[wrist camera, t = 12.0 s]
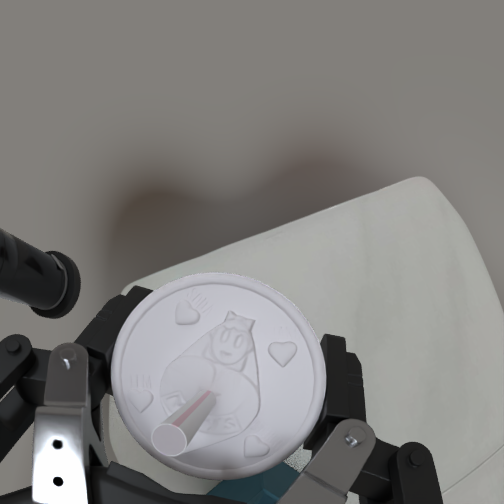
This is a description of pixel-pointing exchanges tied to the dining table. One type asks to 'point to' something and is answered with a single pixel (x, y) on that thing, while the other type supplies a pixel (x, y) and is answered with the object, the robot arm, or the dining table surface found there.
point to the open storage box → (258, 485)
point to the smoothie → (218, 376)
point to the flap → (256, 498)
